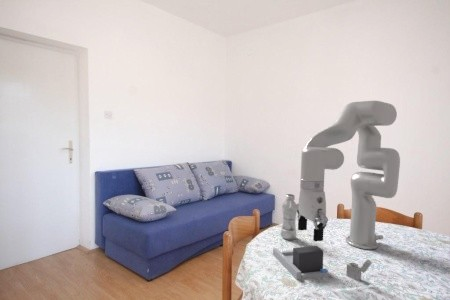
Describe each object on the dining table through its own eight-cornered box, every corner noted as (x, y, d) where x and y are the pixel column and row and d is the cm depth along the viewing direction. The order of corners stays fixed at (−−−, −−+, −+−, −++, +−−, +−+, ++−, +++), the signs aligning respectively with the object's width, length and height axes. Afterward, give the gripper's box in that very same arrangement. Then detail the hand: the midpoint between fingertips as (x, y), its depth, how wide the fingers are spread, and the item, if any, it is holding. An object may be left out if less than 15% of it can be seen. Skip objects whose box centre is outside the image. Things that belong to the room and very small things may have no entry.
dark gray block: (316, 264, 94) (316, 245, 93) (322, 270, 90) (323, 250, 89) (292, 267, 92) (293, 248, 91) (298, 273, 88) (299, 253, 87)
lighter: (345, 277, 88) (347, 253, 87) (348, 275, 89) (349, 252, 88) (368, 287, 82) (370, 262, 82) (370, 285, 83) (372, 260, 83)
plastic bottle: (296, 242, 115) (298, 197, 114) (280, 241, 116) (282, 196, 115) (295, 237, 121) (297, 194, 120) (280, 235, 123) (282, 193, 122)
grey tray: (301, 253, 104) (301, 246, 104) (329, 277, 87) (330, 268, 87) (272, 256, 102) (273, 248, 101) (296, 281, 84) (296, 272, 84)
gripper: (338, 190, 82) (335, 244, 83) (307, 180, 98) (306, 225, 99) (316, 191, 80) (314, 246, 81) (289, 180, 97) (287, 226, 98)
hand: (309, 234), depth 90 cm, fingers open, 9 cm apart
